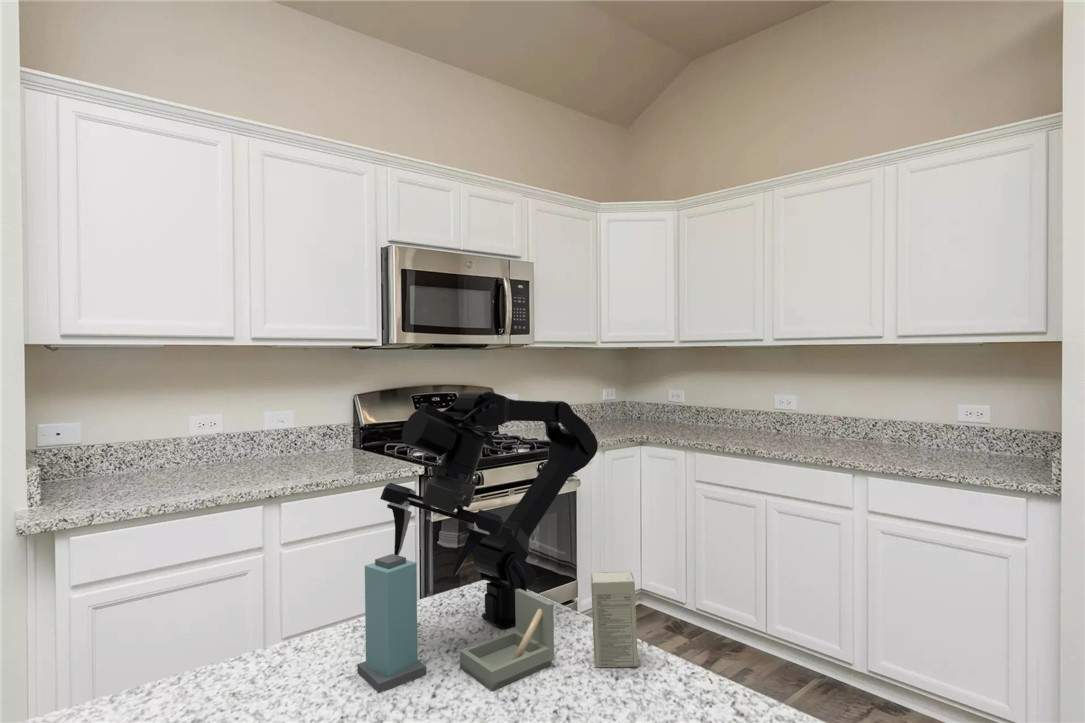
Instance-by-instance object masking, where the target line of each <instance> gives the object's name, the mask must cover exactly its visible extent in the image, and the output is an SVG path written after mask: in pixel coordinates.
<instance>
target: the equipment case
mask: <svg viewBox="0 0 1085 723" xmlns="http://www.w3.org/2000/svg"><path fill="white" fill-rule="evenodd" d="M515 616H516V625H515V629H514V630H511V631H508V632H506V633H503V634H501V635H499V636H495V637H492V638H490V639H489V638H488V639H487V640H484V641H482V642H479V643H476V644H473V645H470V646H468V647H466V648H462V649H460V650H459V669H460V670H462V671H463V672H465V673H466V674H468V675H469V676H470V677H472V678H473V679H474V680H475V681H477V682H479V683H480V684H482V685H483V686H484V687H486V688H487V689H489V690H490V691H492V692H493V691H497V689H500V688H502V687H504V686H507V685H509V684H512V683H514V682H516V681H519V680H521V679H523V678H525V677H527V676H530V675H532V674H534V673H536V672H539V671H541V670H544V669H546V668H549V667H550V666H551V662H552V661H555V642H554V641H555V636H554V635H555V633H554V632H555V631H554V629H555V627H554V622H555V621H554V619H555V618H554V603H552V602H550V601H548V600H547V599H544V598H542V597H539V596H537V595H536V594H533V593H531V592H529V591H527V592H526V591H524V590H522V589H516V590H515Z"/></svg>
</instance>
